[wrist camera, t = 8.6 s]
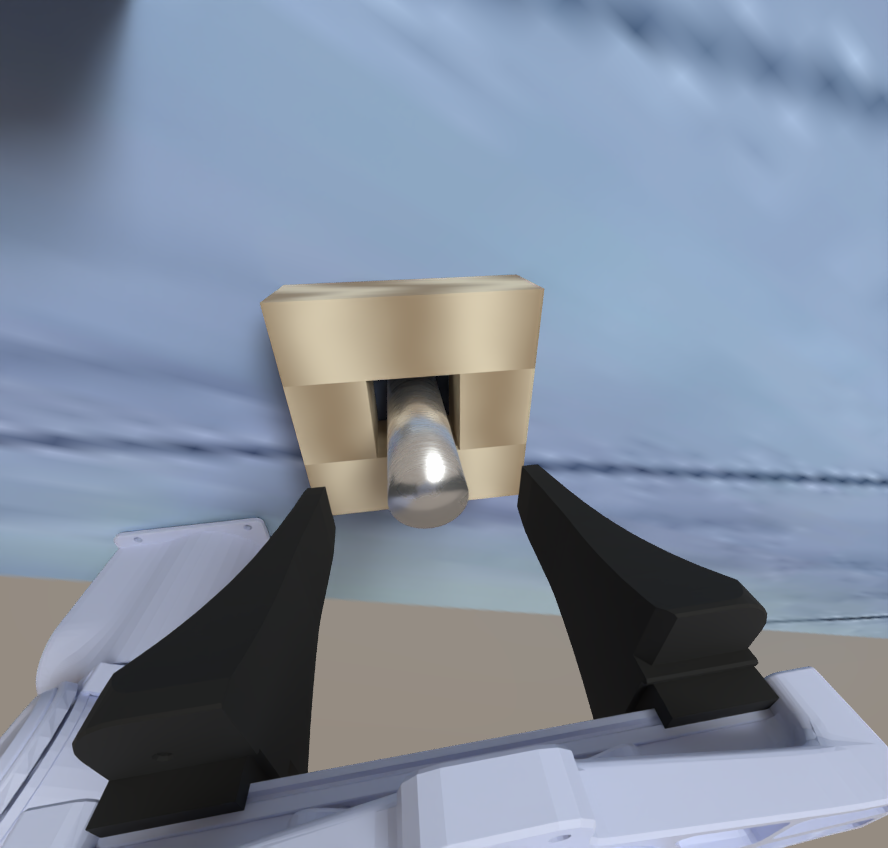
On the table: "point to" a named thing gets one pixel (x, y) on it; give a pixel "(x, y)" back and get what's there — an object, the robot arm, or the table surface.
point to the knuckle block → (406, 374)
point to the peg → (422, 456)
